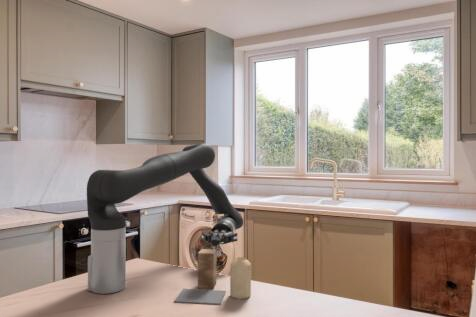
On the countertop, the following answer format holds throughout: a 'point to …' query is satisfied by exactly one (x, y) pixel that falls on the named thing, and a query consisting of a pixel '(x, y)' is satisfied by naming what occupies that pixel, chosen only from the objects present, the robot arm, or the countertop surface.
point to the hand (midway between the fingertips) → (214, 242)
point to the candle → (240, 278)
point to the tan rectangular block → (207, 268)
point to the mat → (200, 296)
